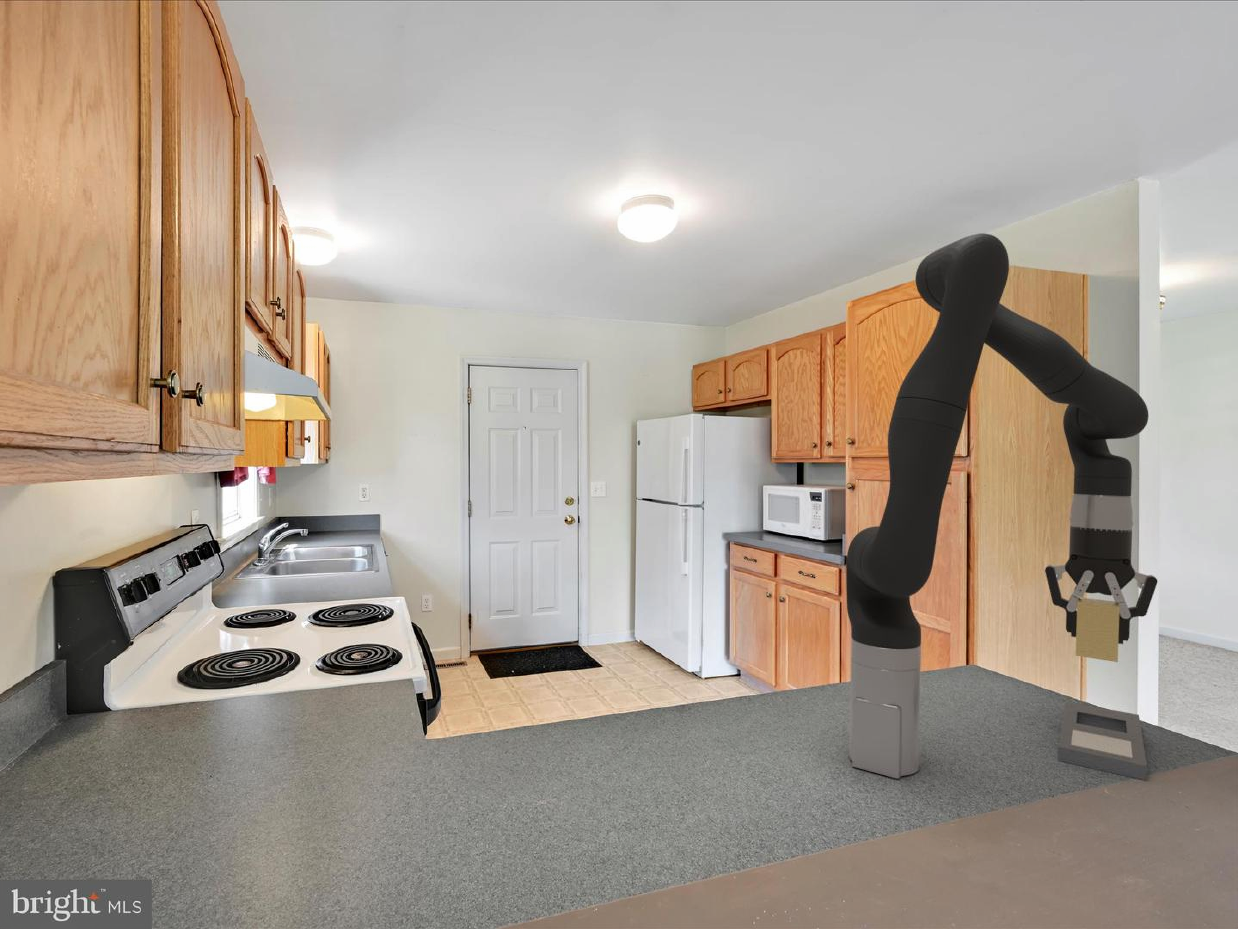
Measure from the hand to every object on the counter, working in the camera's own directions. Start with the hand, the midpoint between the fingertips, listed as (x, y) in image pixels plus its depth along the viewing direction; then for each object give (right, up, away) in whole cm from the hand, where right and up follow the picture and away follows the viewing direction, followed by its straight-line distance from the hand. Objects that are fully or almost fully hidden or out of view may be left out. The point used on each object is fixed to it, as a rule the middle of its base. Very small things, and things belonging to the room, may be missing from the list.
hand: (1096, 639), depth 99 cm
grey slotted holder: (+3, -17, +3) cm, 17 cm away
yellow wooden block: (0, -2, 0) cm, 2 cm away
